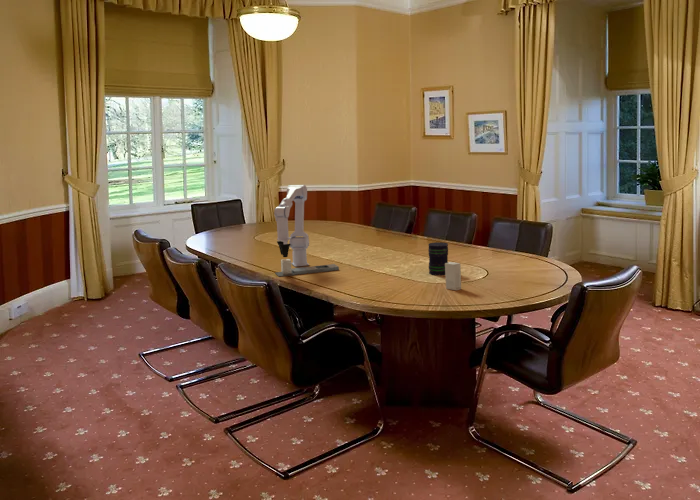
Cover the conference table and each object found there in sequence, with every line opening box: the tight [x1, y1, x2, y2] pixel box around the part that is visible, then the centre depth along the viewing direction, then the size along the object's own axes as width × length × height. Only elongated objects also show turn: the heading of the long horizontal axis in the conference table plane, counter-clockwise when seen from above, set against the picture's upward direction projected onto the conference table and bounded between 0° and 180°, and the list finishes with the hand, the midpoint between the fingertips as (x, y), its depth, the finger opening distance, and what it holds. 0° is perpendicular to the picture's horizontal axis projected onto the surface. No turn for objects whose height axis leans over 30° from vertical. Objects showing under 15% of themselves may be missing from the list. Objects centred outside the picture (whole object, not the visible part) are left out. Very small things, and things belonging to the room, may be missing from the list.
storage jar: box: [427, 241, 449, 276], centre depth 346 cm, size 10×10×15 cm
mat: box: [274, 271, 297, 278], centre depth 358 cm, size 9×9×1 cm
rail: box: [291, 263, 340, 276], centre depth 363 cm, size 8×24×2 cm, turn 108°
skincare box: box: [444, 261, 462, 291], centre depth 314 cm, size 6×4×12 cm
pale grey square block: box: [280, 258, 292, 274], centre depth 358 cm, size 4×4×7 cm
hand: (284, 255), depth 357 cm, fingers open, 7 cm apart
